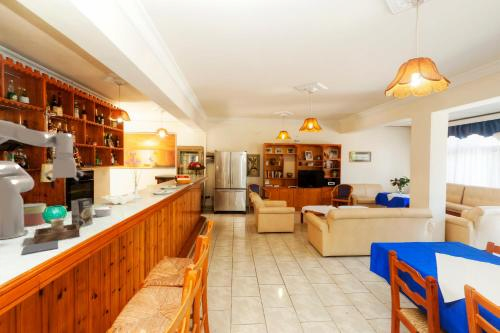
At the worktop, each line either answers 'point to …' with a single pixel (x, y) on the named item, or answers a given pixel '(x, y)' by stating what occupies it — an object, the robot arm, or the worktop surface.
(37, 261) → the worktop surface
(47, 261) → the worktop surface
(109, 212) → the ramekin
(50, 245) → the mat
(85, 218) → the coffee box
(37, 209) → the canned food
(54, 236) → the crate
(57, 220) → the maple block
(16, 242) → the worktop surface
